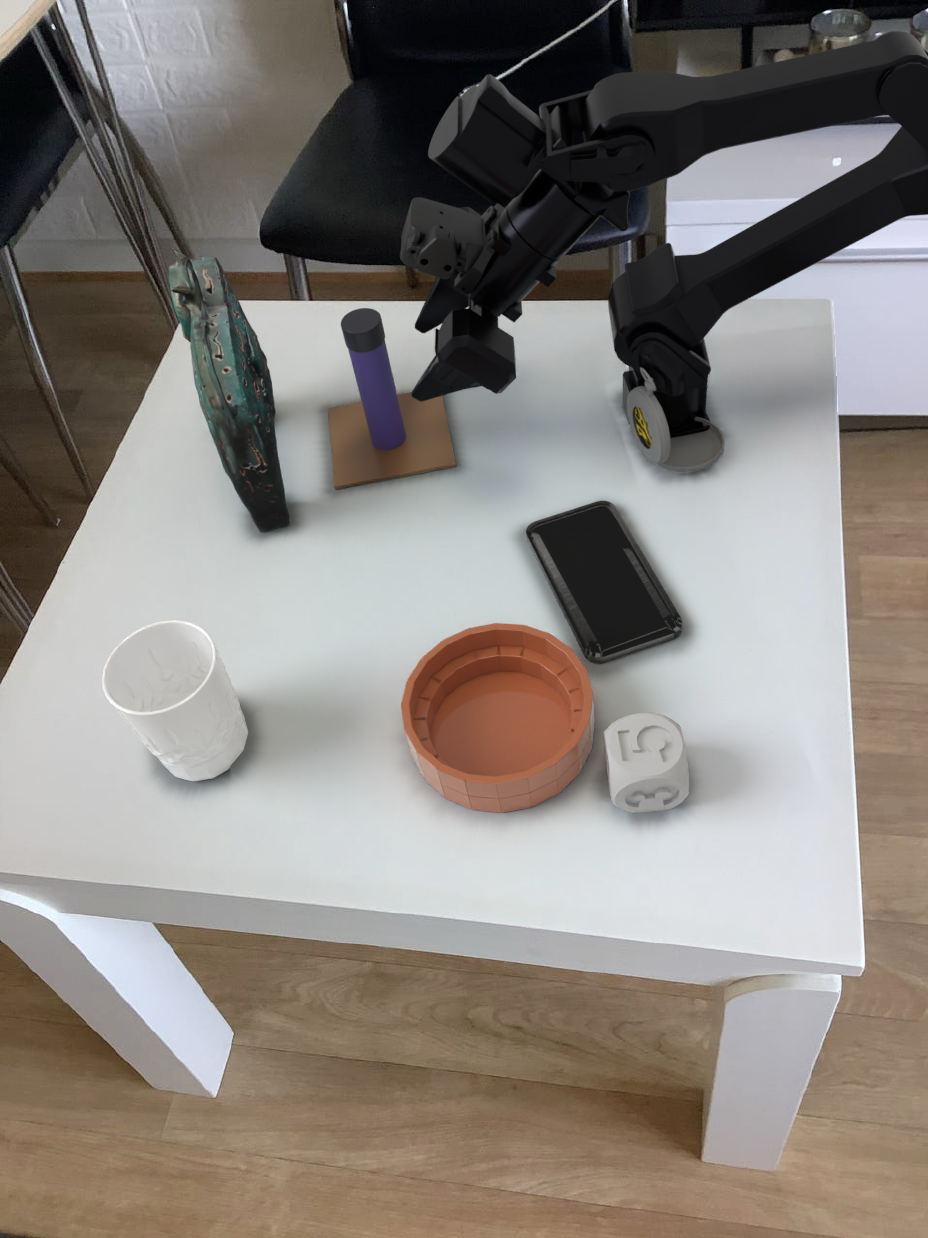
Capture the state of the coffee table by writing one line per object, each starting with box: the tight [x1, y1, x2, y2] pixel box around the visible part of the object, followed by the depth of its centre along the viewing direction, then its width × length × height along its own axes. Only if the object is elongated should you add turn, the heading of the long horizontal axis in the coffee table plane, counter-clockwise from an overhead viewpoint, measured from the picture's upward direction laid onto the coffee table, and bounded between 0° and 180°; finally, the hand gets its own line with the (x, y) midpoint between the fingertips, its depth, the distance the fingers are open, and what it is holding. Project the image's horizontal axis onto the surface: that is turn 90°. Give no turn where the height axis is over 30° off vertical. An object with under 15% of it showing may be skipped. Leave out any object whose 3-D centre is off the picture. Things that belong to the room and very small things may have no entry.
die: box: [602, 712, 690, 814], centre depth 70 cm, size 5×5×5 cm
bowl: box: [400, 622, 596, 813], centre depth 74 cm, size 13×13×4 cm
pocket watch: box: [627, 368, 726, 473], centre depth 88 cm, size 8×8×10 cm
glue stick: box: [340, 307, 406, 450], centre depth 92 cm, size 3×3×13 cm
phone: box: [525, 500, 683, 665], centre depth 83 cm, size 8×1×15 cm
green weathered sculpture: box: [168, 247, 291, 533], centre depth 90 cm, size 20×6×20 cm, turn 15°
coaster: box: [327, 391, 457, 490], centre depth 97 cm, size 11×11×1 cm
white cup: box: [101, 619, 249, 782], centre depth 75 cm, size 8×8×10 cm
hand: (417, 362), depth 90 cm, fingers open, 9 cm apart
